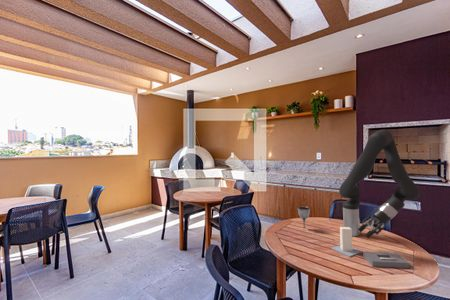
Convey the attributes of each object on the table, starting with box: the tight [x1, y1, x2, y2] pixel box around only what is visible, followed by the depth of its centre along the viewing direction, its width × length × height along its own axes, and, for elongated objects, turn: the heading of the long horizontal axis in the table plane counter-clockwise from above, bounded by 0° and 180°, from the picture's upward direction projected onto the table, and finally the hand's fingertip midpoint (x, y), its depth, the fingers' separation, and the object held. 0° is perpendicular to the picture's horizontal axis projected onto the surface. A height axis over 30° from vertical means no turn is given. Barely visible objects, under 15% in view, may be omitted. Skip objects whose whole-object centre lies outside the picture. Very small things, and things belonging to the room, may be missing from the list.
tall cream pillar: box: [339, 226, 353, 251], centre depth 122 cm, size 5×4×12 cm
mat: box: [330, 244, 364, 258], centre depth 122 cm, size 11×11×1 cm
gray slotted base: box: [362, 251, 411, 269], centre depth 109 cm, size 16×10×3 cm, turn 81°
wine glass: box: [297, 206, 311, 228], centre depth 157 cm, size 8×8×15 cm
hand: (362, 233), depth 121 cm, fingers open, 8 cm apart
